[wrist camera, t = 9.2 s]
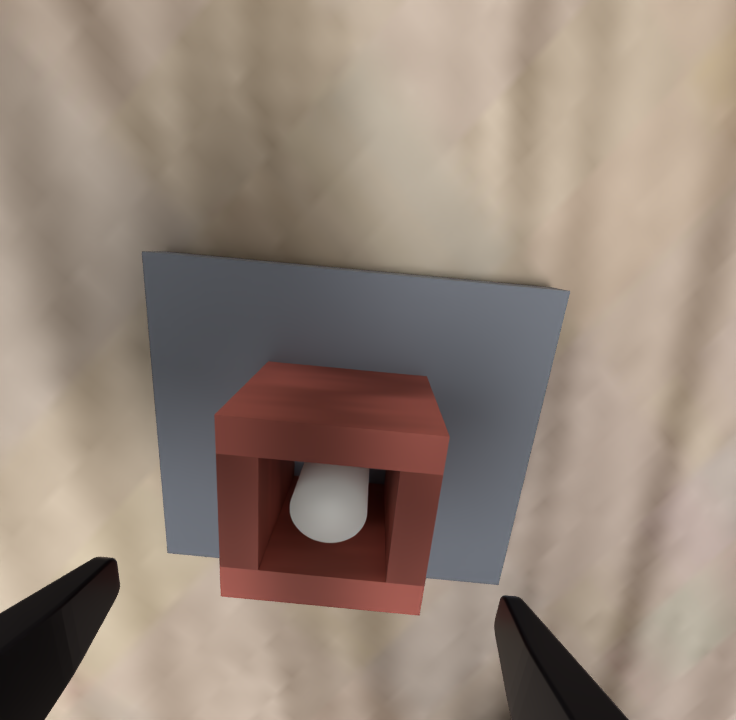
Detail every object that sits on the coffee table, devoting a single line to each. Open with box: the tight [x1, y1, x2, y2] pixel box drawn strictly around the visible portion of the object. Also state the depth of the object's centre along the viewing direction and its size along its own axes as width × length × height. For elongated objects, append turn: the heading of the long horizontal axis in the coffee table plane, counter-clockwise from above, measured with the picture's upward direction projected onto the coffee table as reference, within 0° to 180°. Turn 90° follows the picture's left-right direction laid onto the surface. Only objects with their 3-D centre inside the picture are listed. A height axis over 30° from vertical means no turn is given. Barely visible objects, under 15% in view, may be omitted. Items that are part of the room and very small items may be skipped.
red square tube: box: [214, 361, 450, 615], centre depth 13 cm, size 6×6×5 cm
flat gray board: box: [142, 252, 570, 585], centre depth 14 cm, size 16×14×6 cm
